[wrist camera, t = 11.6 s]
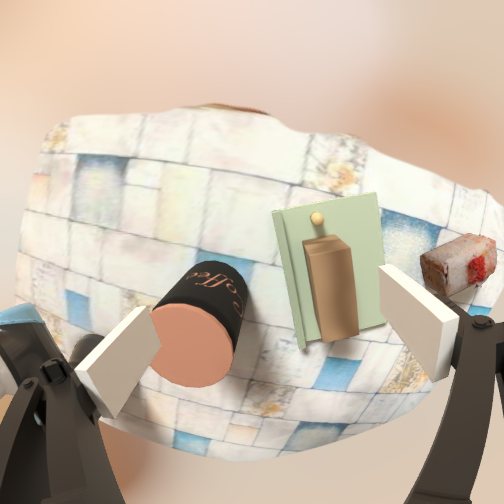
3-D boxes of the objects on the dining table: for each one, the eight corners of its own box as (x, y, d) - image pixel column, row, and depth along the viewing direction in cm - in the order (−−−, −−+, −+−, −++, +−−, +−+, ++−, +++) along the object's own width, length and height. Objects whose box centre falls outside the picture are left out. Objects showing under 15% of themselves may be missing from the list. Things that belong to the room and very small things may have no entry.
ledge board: (297, 338, 46) (299, 352, 41) (271, 210, 41) (271, 214, 37) (384, 318, 44) (393, 330, 39) (372, 191, 39) (383, 192, 35)
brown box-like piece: (314, 313, 43) (322, 343, 34) (301, 240, 40) (309, 256, 32) (344, 306, 42) (359, 334, 34) (334, 233, 40) (351, 247, 31)
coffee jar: (262, 288, 44) (254, 351, 27) (221, 330, 46) (196, 401, 29) (210, 244, 43) (169, 284, 26) (172, 291, 45) (123, 346, 28)
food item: (471, 225, 39) (504, 235, 29) (475, 264, 40) (506, 280, 31) (417, 250, 41) (447, 266, 31) (423, 290, 42) (451, 313, 33)
